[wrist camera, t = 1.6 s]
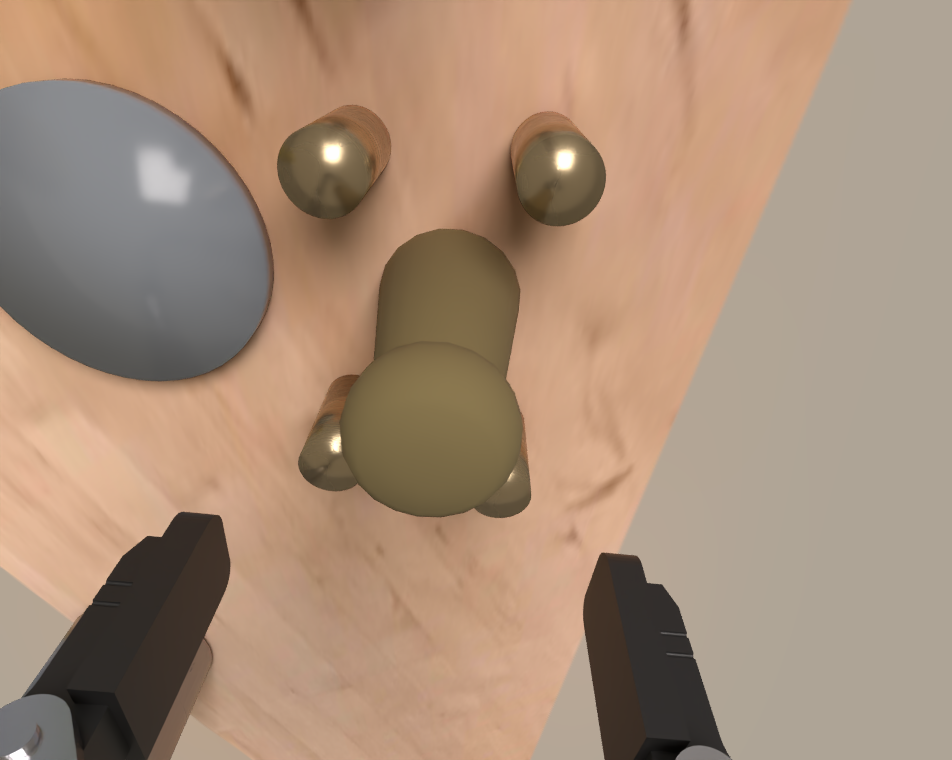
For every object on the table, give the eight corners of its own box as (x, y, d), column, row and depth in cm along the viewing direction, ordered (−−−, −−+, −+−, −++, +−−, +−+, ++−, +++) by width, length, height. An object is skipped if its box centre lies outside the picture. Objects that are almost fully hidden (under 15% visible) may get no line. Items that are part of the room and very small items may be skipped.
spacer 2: (355, 428, 28) (331, 500, 23) (316, 393, 27) (284, 462, 22) (393, 401, 27) (376, 472, 23) (355, 365, 26) (329, 431, 21)
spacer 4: (537, 200, 21) (549, 243, 17) (496, 143, 20) (499, 174, 16) (594, 156, 21) (622, 190, 16) (555, 95, 20) (574, 113, 15)
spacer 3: (492, 452, 28) (493, 526, 24) (460, 419, 27) (456, 491, 23) (534, 427, 27) (543, 500, 23) (503, 392, 26) (506, 462, 22)
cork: (541, 329, 25) (575, 512, 15) (420, 377, 26) (384, 571, 17) (484, 203, 22) (483, 336, 12) (352, 265, 23) (262, 425, 14)
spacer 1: (355, 194, 21) (323, 235, 17) (305, 137, 20) (259, 166, 16) (405, 150, 21) (384, 182, 16) (356, 88, 20) (320, 105, 15)
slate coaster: (163, 411, 27) (153, 423, 26) (-91, 219, 22) (-114, 227, 21) (333, 269, 23) (327, 278, 22) (68, -6, 18) (47, -8, 17)
